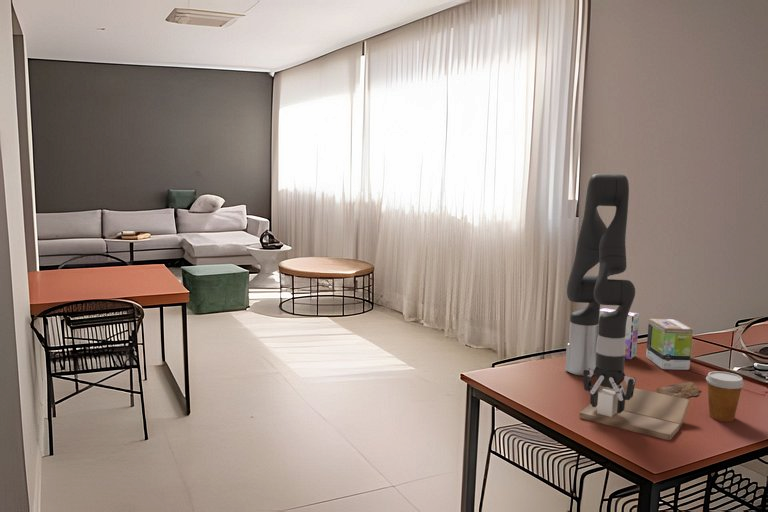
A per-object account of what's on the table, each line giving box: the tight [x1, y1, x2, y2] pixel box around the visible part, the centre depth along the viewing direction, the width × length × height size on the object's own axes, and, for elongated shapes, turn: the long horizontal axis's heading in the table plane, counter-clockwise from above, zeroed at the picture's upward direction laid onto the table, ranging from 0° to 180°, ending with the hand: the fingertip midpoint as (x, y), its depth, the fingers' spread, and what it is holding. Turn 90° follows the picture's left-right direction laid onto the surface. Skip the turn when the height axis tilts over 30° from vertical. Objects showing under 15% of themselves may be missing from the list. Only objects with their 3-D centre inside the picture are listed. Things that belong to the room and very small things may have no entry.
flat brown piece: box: [656, 381, 702, 400], centre depth 207 cm, size 26×11×1 cm, turn 133°
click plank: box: [597, 384, 690, 429], centre depth 189 cm, size 24×9×2 cm
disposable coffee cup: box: [705, 370, 745, 422], centre depth 187 cm, size 10×10×12 cm
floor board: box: [579, 403, 681, 441], centre depth 182 cm, size 24×10×2 cm, turn 52°
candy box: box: [598, 307, 640, 360], centre depth 246 cm, size 14×6×16 cm, turn 47°
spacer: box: [597, 389, 617, 417], centre depth 185 cm, size 4×4×6 cm
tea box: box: [645, 318, 694, 371], centre depth 236 cm, size 15×10×15 cm, turn 179°
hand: (607, 409), depth 185 cm, fingers open, 6 cm apart
